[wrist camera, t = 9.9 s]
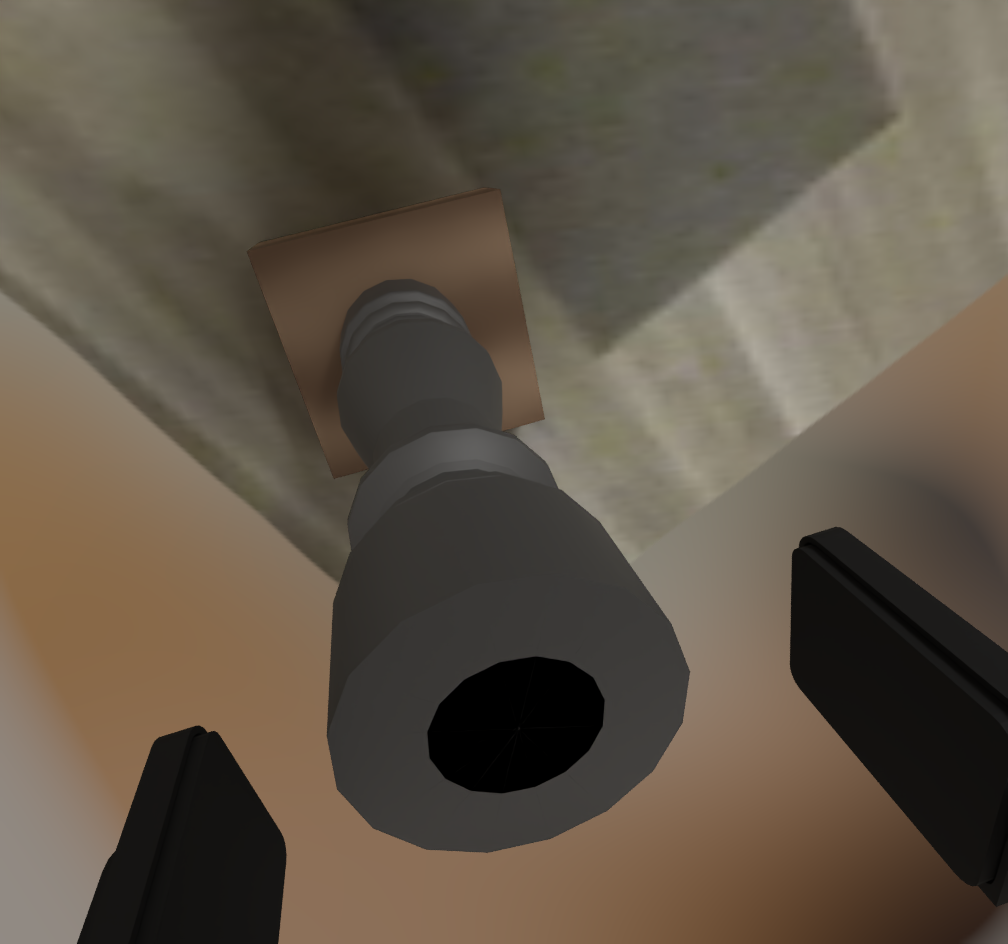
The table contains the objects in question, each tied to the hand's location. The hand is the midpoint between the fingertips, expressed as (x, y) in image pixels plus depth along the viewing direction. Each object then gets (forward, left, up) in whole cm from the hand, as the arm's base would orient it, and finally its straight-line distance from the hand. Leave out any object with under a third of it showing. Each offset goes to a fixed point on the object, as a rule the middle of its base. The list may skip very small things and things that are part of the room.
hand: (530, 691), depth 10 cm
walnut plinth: (0, 0, -29) cm, 29 cm away
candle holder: (0, 0, -25) cm, 25 cm away
